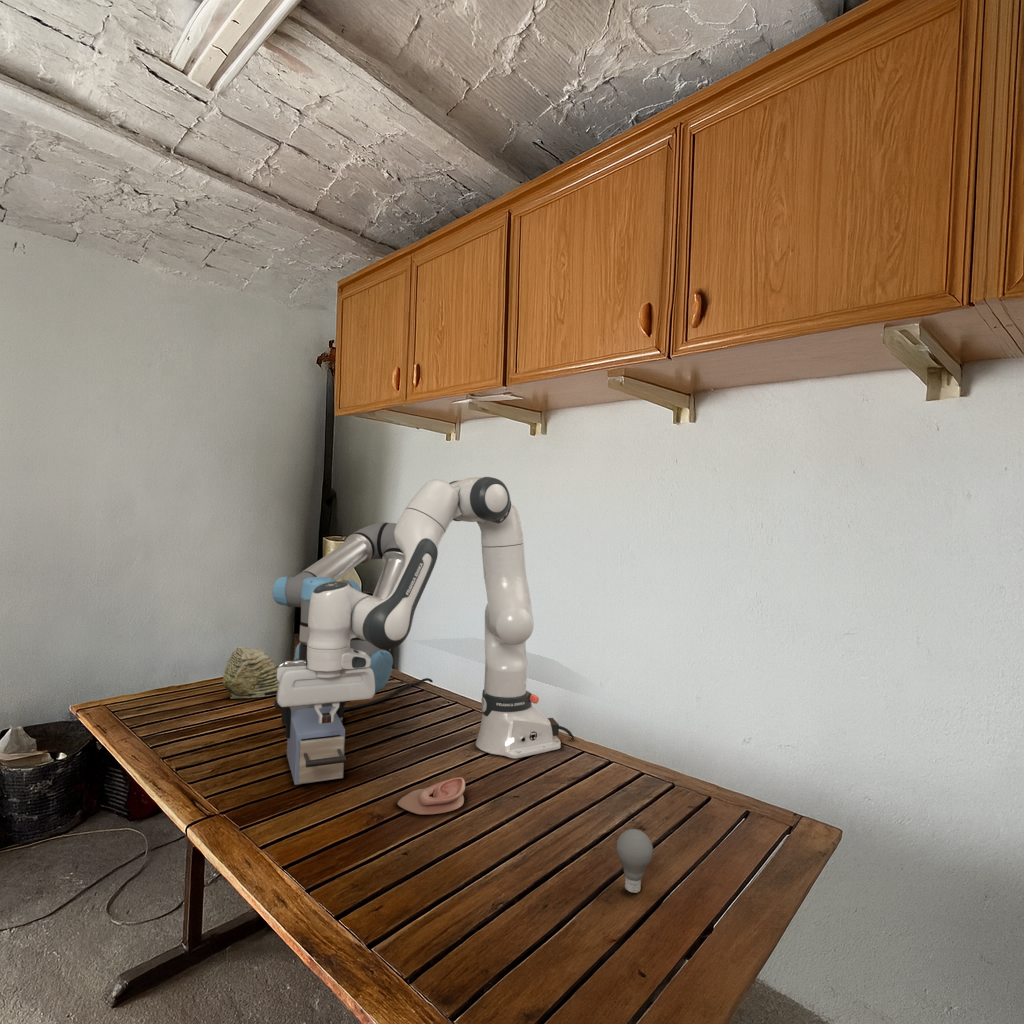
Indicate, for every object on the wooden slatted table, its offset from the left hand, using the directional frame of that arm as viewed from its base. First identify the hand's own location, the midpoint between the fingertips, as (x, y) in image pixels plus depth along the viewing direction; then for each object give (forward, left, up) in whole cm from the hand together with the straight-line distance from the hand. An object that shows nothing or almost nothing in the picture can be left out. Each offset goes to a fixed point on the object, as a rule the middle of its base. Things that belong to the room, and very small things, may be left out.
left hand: (312, 733), depth 152 cm
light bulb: (-6, +83, -6) cm, 83 cm away
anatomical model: (-5, +37, -6) cm, 37 cm away
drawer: (+5, +9, -5) cm, 11 cm away
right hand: (+8, +16, +9) cm, 20 cm away
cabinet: (+2, +4, -6) cm, 8 cm away
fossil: (-15, -54, -6) cm, 56 cm away
